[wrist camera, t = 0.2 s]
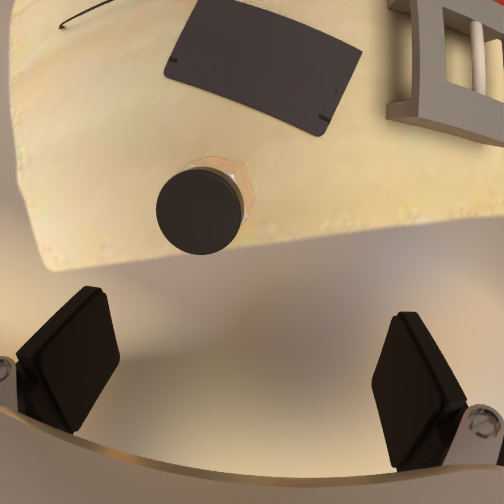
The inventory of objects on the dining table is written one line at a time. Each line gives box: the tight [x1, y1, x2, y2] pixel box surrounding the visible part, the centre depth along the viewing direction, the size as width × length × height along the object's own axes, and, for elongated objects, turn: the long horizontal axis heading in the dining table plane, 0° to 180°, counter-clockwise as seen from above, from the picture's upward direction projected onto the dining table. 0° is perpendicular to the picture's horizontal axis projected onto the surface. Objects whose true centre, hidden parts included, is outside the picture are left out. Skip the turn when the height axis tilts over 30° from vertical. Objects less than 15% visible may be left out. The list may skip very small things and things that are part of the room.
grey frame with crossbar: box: [386, 0, 504, 147], centre depth 26 cm, size 18×16×10 cm
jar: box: [156, 157, 255, 255], centre depth 34 cm, size 9×8×12 cm
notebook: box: [164, 0, 362, 136], centre depth 33 cm, size 13×2×21 cm
